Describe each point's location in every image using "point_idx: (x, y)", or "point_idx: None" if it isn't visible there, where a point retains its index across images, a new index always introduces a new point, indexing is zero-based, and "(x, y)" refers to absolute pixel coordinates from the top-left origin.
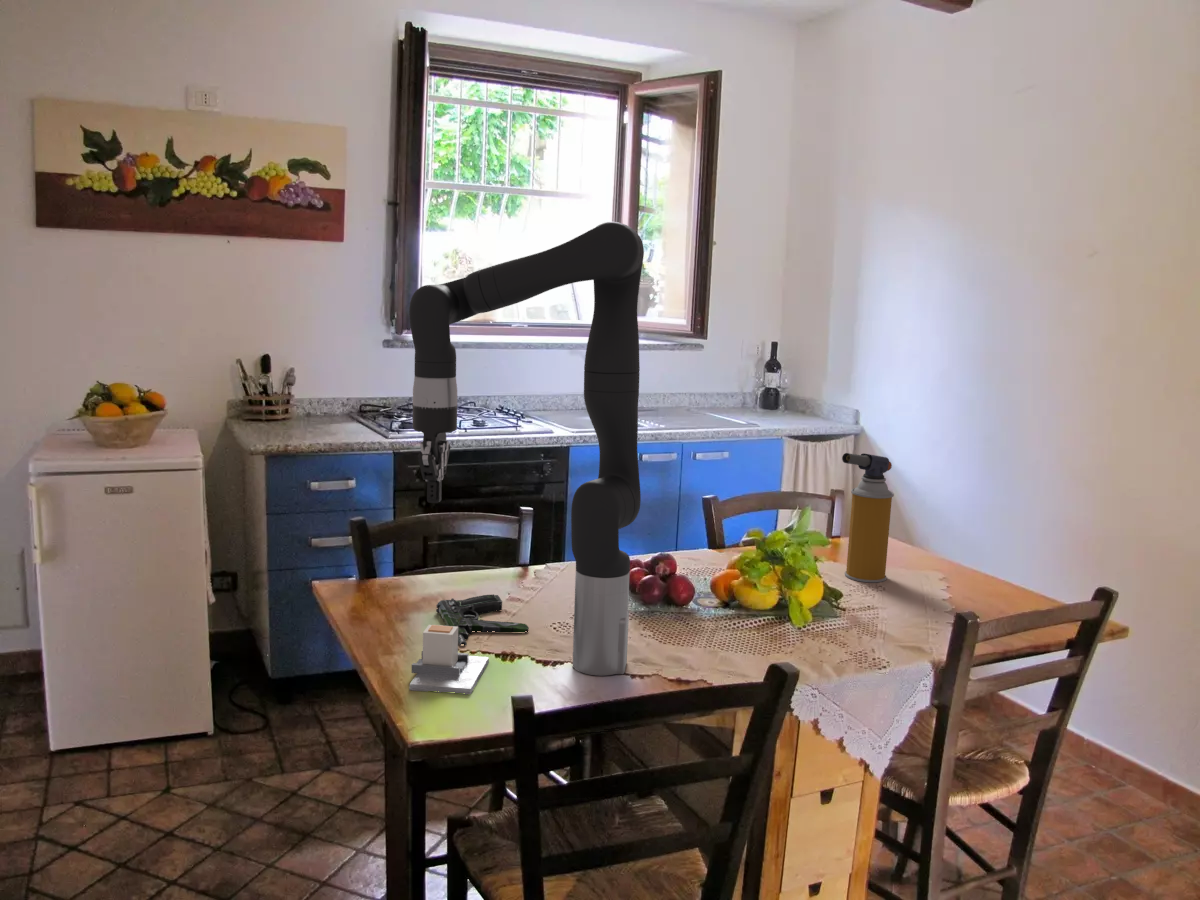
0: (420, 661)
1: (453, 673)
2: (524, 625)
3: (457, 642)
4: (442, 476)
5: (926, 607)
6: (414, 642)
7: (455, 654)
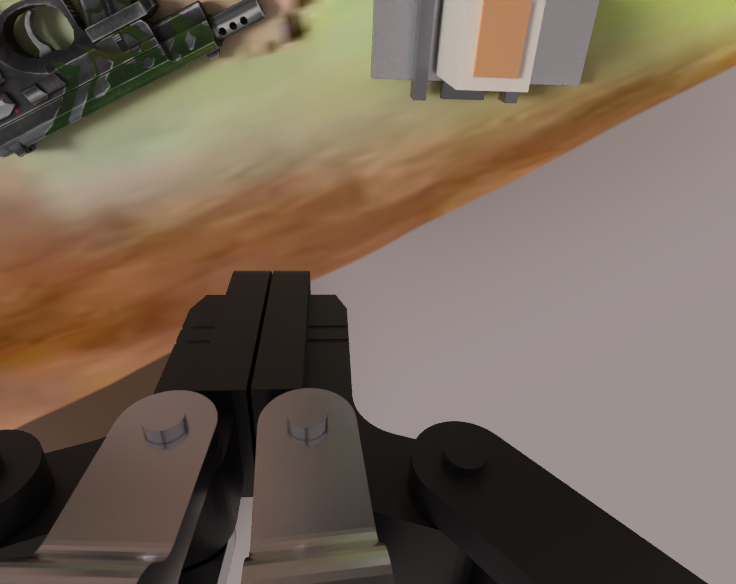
0: (459, 91)
1: None
2: None
3: None
4: (181, 424)
5: None
6: (268, 152)
7: None
